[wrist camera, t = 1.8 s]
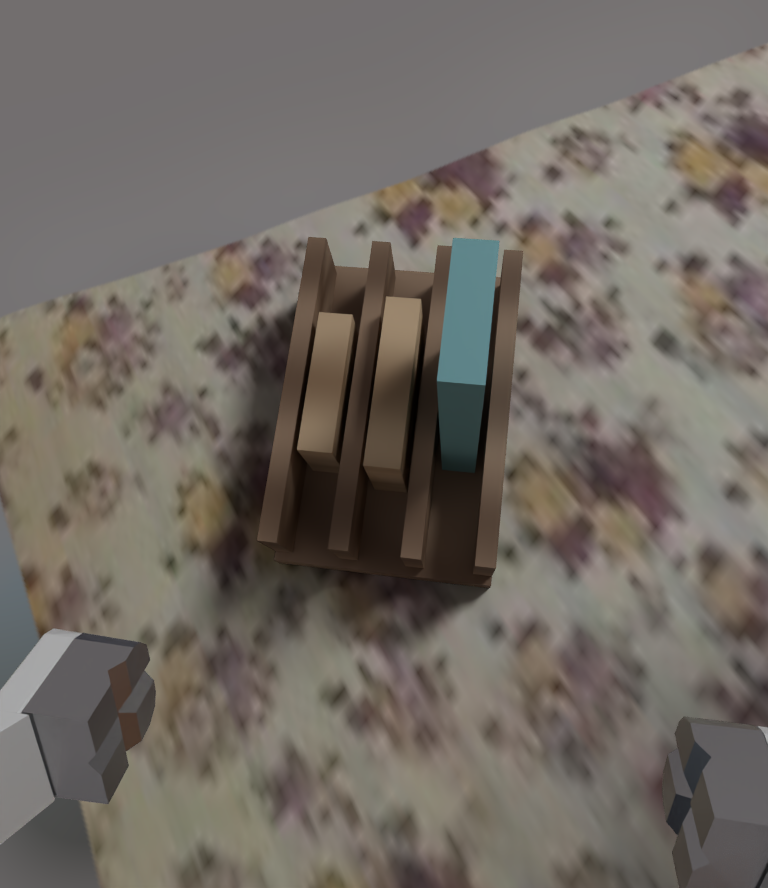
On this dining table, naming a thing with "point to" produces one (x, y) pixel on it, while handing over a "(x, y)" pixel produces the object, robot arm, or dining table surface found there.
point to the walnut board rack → (429, 487)
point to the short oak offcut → (395, 395)
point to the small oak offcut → (328, 392)
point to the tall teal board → (465, 350)
